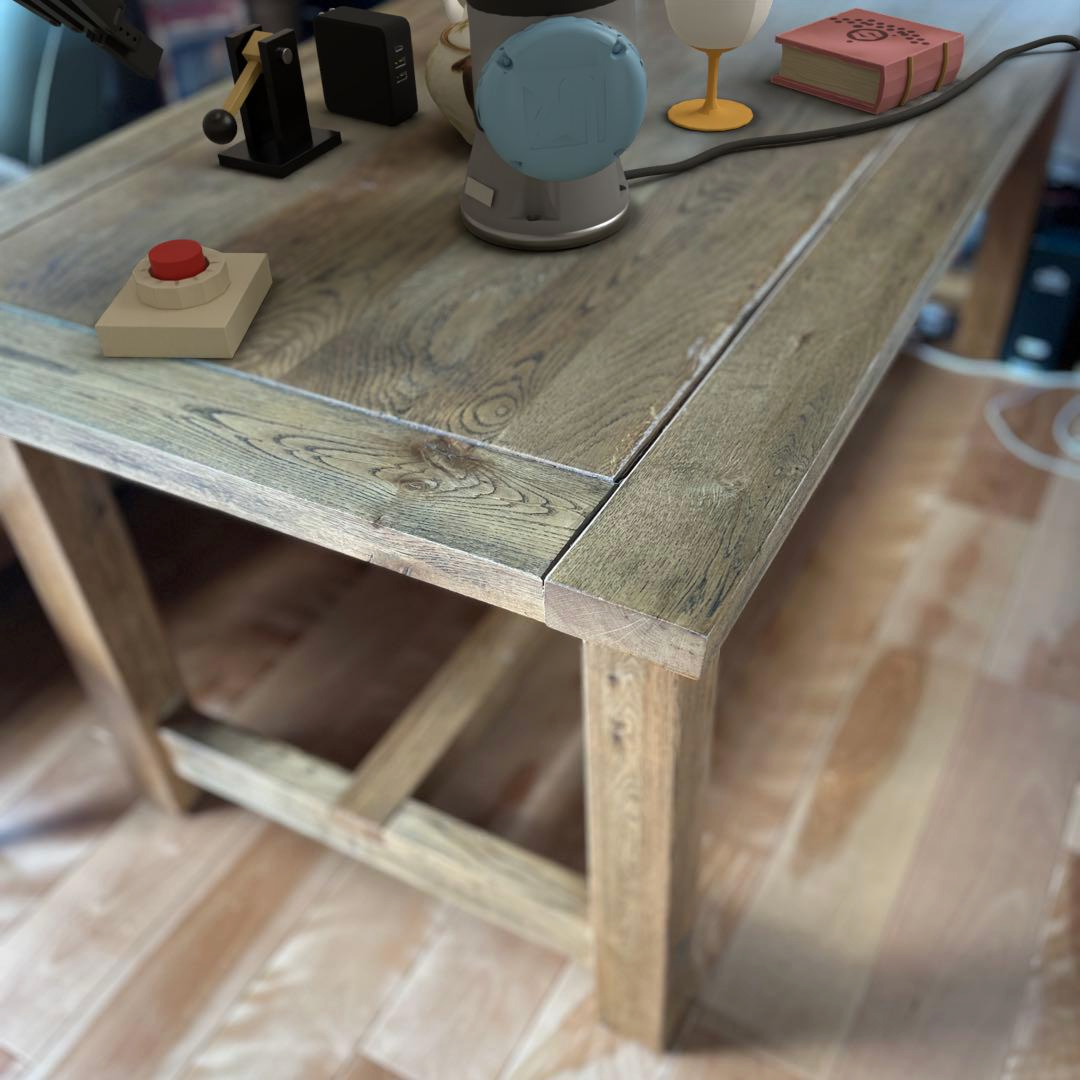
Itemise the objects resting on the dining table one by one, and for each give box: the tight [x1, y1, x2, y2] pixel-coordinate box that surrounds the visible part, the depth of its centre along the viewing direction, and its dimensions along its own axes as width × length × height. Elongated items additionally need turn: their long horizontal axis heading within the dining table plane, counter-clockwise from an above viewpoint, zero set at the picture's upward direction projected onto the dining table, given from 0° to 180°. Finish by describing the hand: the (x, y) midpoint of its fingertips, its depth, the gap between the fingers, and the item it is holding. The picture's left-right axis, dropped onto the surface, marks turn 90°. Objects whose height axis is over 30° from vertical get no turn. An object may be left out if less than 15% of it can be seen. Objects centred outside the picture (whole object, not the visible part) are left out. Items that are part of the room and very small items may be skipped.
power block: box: [94, 246, 273, 359], centre depth 87 cm, size 12×10×4 cm
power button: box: [147, 238, 206, 281], centre depth 85 cm, size 4×4×2 cm
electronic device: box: [312, 5, 419, 127], centre depth 119 cm, size 4×10×10 cm, turn 56°
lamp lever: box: [201, 31, 274, 146], centre depth 106 cm, size 12×3×3 cm, turn 152°
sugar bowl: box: [424, 18, 476, 146], centre depth 111 cm, size 20×15×15 cm
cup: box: [664, 0, 774, 132], centre depth 113 cm, size 12×12×17 cm
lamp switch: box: [217, 23, 343, 179], centre depth 110 cm, size 10×8×12 cm
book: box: [770, 7, 965, 115], centre depth 123 cm, size 14×15×5 cm
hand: (152, 63), depth 96 cm, fingers closed
